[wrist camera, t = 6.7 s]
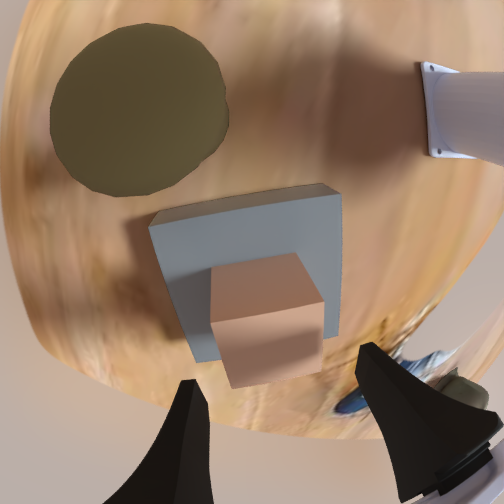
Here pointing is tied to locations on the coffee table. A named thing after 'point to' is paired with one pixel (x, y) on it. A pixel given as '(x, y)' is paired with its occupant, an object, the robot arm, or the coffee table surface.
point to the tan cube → (266, 320)
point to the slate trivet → (247, 249)
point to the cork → (138, 110)
